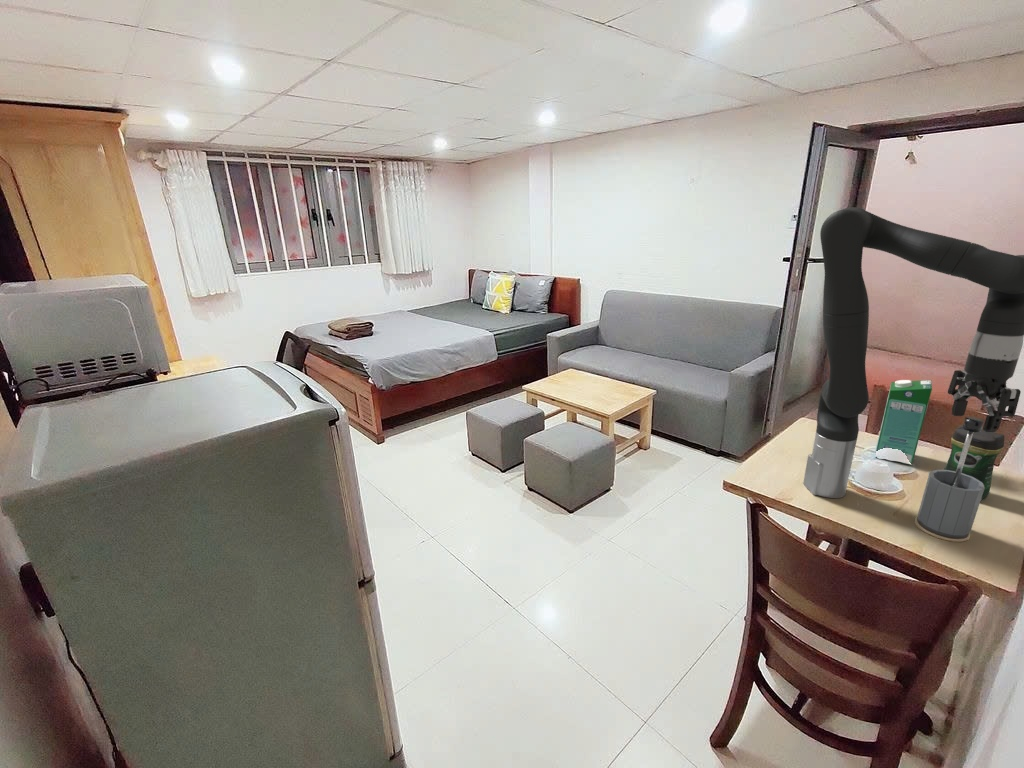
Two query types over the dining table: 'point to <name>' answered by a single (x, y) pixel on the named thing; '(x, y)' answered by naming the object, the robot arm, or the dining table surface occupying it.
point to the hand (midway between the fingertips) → (972, 423)
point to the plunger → (966, 444)
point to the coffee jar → (976, 455)
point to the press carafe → (949, 506)
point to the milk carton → (904, 416)
